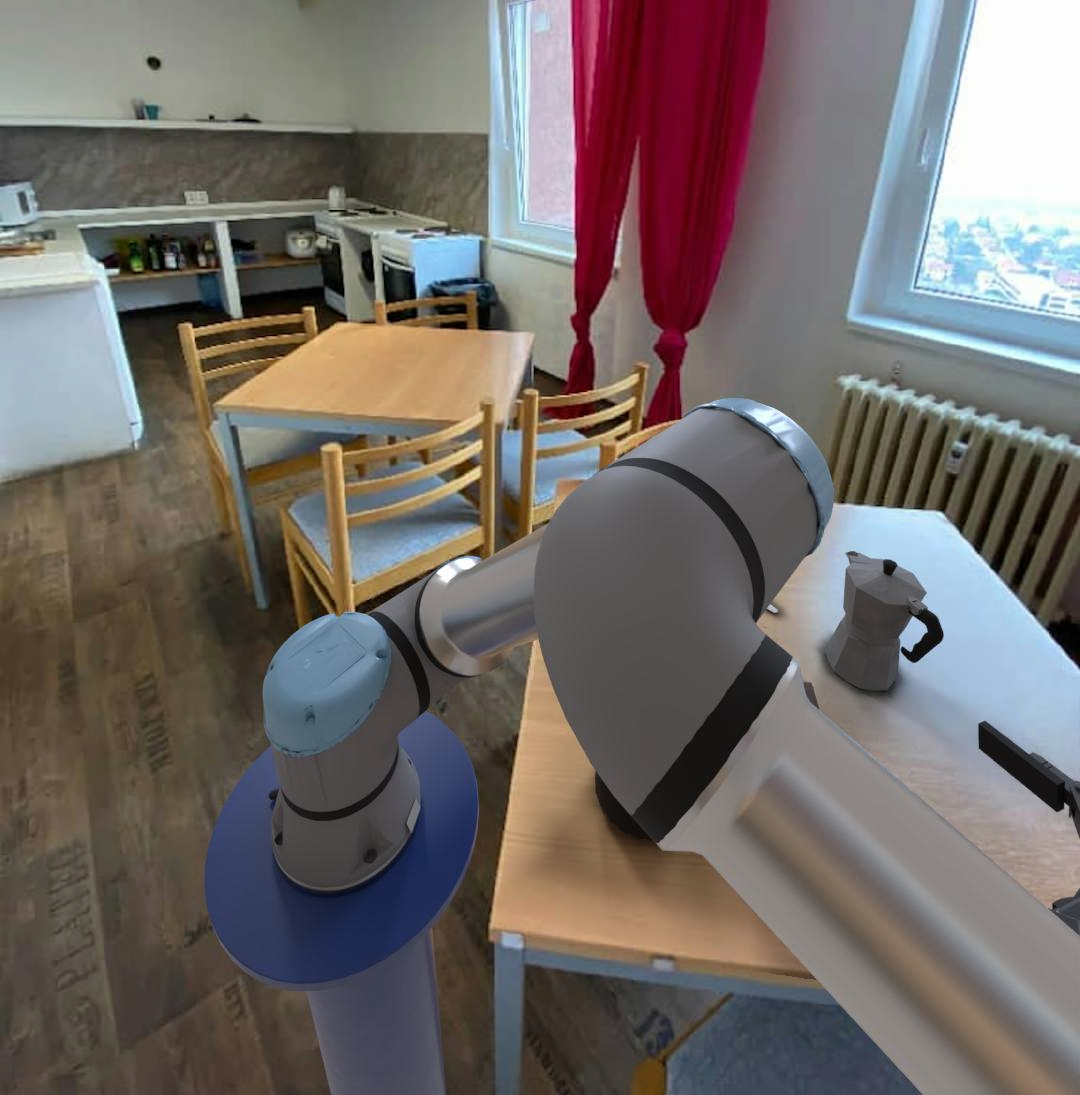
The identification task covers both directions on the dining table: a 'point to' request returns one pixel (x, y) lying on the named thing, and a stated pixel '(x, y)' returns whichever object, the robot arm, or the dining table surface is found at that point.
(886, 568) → the coffeepot
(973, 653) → the dining table surface
